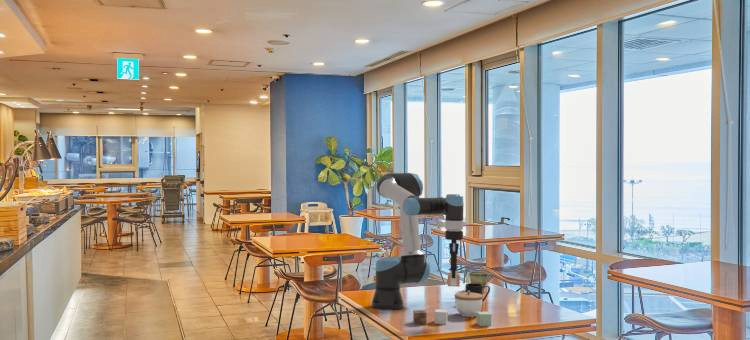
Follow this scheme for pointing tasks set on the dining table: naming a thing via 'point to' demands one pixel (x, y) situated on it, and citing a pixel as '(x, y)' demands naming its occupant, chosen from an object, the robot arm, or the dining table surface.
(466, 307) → the lidded bowl
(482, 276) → the ceramic cup
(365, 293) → the dining table surface
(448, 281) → the terracotta block
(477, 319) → the sage block
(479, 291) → the mug
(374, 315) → the dining table surface
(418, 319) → the walnut block
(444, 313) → the grey block
